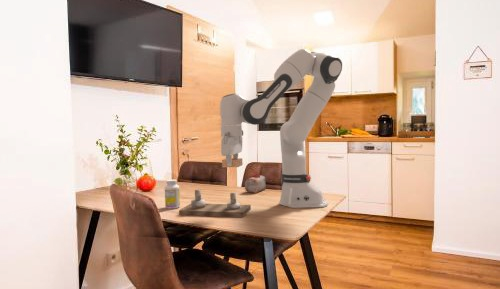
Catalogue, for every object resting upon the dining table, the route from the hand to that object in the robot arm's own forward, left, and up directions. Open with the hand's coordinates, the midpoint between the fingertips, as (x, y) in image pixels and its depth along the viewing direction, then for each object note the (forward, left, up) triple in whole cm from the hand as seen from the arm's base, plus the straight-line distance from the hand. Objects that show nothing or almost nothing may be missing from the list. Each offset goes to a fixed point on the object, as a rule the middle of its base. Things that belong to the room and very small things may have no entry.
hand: (232, 164), depth 153 cm
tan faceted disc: (0, 0, -1) cm, 1 cm away
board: (+8, 0, -21) cm, 22 cm away
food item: (+1, -50, -21) cm, 54 cm away
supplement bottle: (+31, -6, -21) cm, 38 cm away
